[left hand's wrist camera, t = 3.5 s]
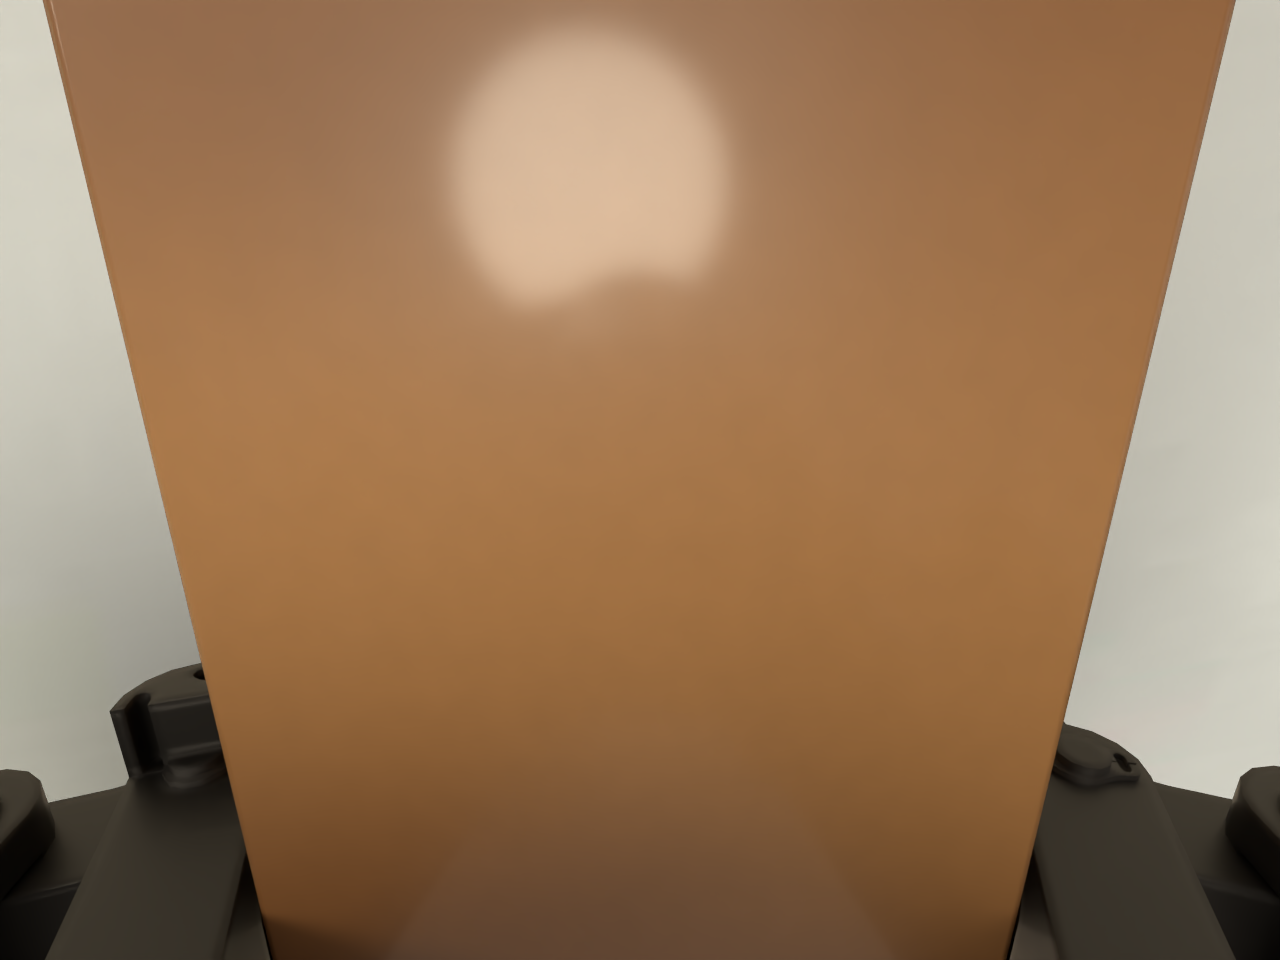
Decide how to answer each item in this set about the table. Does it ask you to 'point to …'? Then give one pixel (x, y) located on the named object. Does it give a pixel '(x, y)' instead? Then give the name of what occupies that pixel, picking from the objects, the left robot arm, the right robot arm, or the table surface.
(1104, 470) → the bar
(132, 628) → the table surface
